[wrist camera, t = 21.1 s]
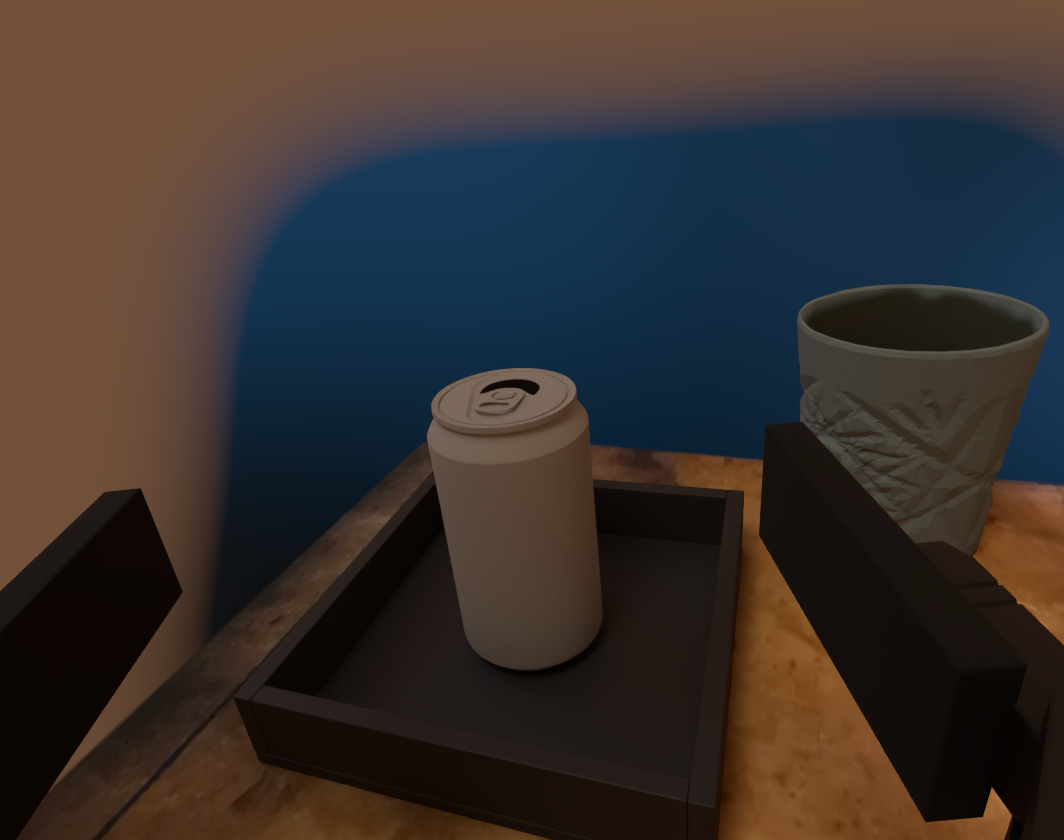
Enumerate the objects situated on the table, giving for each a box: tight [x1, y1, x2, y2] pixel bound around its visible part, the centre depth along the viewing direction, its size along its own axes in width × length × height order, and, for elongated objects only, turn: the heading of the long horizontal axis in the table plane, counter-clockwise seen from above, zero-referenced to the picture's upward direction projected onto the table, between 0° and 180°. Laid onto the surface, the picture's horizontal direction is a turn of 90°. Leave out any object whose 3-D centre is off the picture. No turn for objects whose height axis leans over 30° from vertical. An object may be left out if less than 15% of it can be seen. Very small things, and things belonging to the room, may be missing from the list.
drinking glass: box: [797, 284, 1049, 556], centre depth 33 cm, size 10×10×12 cm
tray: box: [233, 471, 744, 840], centre depth 30 cm, size 18×18×4 cm
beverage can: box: [427, 368, 603, 671], centre depth 28 cm, size 6×6×12 cm
